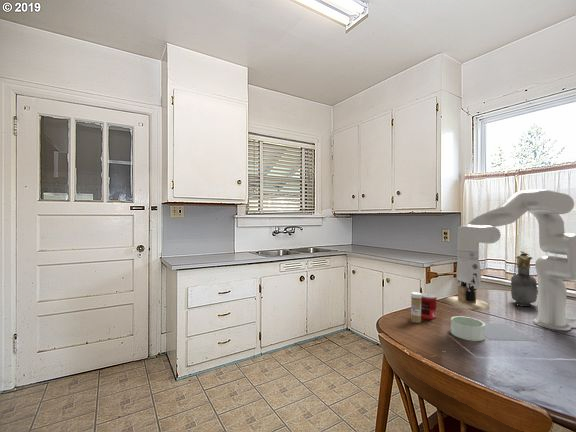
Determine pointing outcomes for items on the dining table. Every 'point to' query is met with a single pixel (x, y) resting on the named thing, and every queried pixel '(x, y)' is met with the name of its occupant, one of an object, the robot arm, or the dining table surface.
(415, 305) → the sprinkles bottle
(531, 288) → the grey vase
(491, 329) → the mat
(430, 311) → the canned food
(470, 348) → the dining table surface
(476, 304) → the lid
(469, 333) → the bowl
